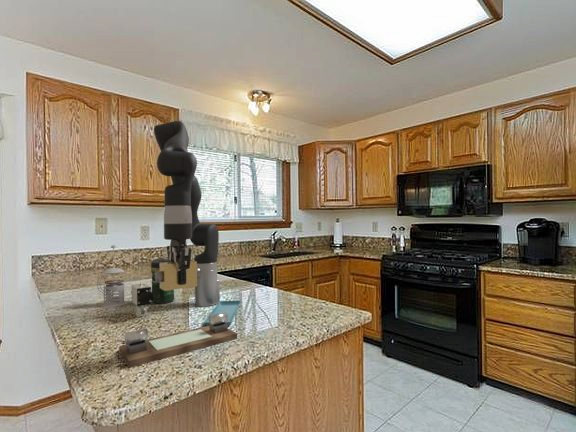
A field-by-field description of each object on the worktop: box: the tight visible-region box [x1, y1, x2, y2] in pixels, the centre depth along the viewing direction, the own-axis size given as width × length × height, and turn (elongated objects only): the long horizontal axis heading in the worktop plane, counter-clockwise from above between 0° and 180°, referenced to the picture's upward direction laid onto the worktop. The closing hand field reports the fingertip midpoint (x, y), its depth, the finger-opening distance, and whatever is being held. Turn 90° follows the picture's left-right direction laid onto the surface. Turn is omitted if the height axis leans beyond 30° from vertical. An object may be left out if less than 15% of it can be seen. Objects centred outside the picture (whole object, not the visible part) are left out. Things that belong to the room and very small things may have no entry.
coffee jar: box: [150, 258, 175, 304], centre depth 141 cm, size 10×8×19 cm
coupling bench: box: [118, 312, 238, 368], centre depth 92 cm, size 29×12×6 cm, turn 127°
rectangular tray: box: [203, 300, 243, 327], centre depth 119 cm, size 26×9×2 cm, turn 1°
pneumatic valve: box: [130, 282, 153, 318], centre depth 121 cm, size 6×12×12 cm, turn 38°
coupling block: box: [155, 259, 201, 291], centre depth 92 cm, size 12×4×7 cm, turn 127°
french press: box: [96, 244, 128, 308], centre depth 138 cm, size 10×12×25 cm
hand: (178, 282), depth 92 cm, fingers closed on coupling block, 4 cm apart
